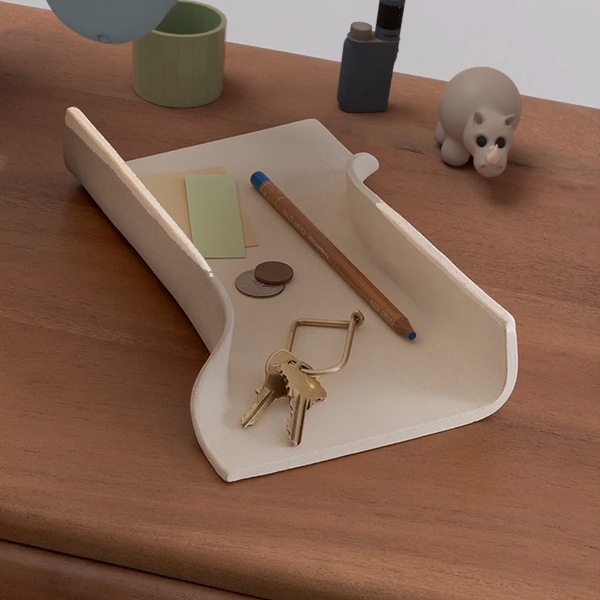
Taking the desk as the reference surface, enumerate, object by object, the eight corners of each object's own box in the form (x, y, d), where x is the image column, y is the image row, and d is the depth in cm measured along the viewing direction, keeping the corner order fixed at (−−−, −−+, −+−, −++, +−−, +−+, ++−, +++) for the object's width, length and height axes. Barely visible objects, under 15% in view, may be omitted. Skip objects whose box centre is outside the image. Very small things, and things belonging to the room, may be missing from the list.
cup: (113, 83, 101) (112, 13, 97) (178, 59, 107) (180, -8, 103) (176, 116, 97) (178, 44, 93) (241, 90, 103) (245, 21, 99)
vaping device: (392, 112, 102) (412, -9, 95) (339, 113, 101) (355, -10, 94) (385, 100, 104) (404, -20, 97) (333, 100, 103) (348, -21, 96)
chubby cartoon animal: (438, 203, 90) (456, 111, 84) (426, 134, 99) (442, 49, 94) (522, 210, 90) (546, 120, 85) (502, 141, 100) (523, 56, 94)
